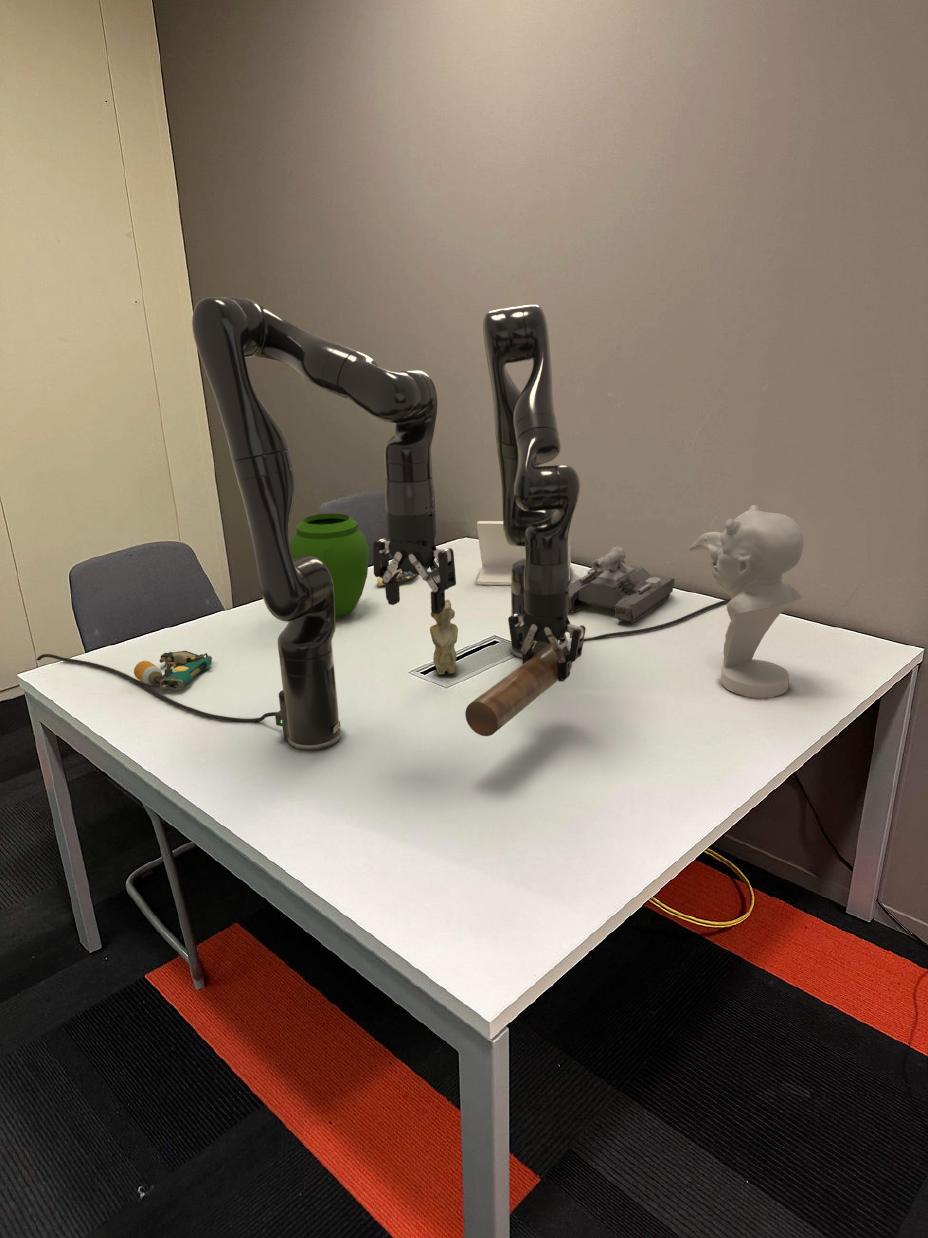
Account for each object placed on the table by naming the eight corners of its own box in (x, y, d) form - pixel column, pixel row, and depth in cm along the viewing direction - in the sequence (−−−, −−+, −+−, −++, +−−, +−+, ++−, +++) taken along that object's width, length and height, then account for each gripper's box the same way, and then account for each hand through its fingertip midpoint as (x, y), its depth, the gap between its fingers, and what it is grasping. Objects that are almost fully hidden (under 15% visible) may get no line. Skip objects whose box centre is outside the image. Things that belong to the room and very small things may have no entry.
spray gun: (177, 659, 191) (231, 671, 185) (120, 684, 176) (176, 698, 171) (176, 641, 190) (230, 653, 184) (118, 665, 175) (174, 678, 169)
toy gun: (374, 578, 232) (409, 575, 230) (392, 563, 250) (425, 560, 247) (376, 588, 232) (411, 585, 230) (394, 572, 250) (427, 569, 248)
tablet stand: (569, 585, 229) (570, 524, 223) (476, 584, 232) (475, 523, 226) (570, 566, 246) (571, 508, 240) (484, 564, 249) (483, 507, 243)
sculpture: (458, 662, 183) (456, 596, 178) (460, 676, 176) (457, 608, 171) (431, 663, 183) (428, 597, 177) (431, 677, 176) (428, 609, 171)
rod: (543, 670, 154) (543, 640, 152) (572, 677, 151) (573, 646, 149) (465, 731, 135) (464, 697, 132) (497, 740, 132) (497, 706, 129)
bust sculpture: (721, 647, 187) (735, 489, 174) (811, 688, 167) (833, 512, 154) (664, 663, 180) (674, 499, 167) (750, 707, 160) (769, 525, 147)
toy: (603, 584, 229) (605, 530, 224) (673, 597, 218) (677, 540, 213) (555, 612, 210) (556, 553, 205) (630, 627, 199) (633, 566, 194)
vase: (389, 608, 216) (383, 514, 208) (339, 633, 201) (330, 533, 192) (330, 596, 226) (322, 506, 218) (278, 619, 211) (267, 523, 202)
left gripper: (358, 507, 130) (365, 607, 136) (434, 518, 123) (438, 623, 128) (388, 498, 136) (394, 594, 142) (463, 507, 128) (466, 608, 134)
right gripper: (497, 585, 143) (499, 675, 150) (575, 599, 136) (573, 693, 142) (520, 572, 149) (520, 659, 155) (595, 585, 142) (592, 676, 148)
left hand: (415, 608), depth 135 cm, fingers open, 8 cm apart
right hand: (546, 675), depth 149 cm, fingers closed on rod, 6 cm apart
